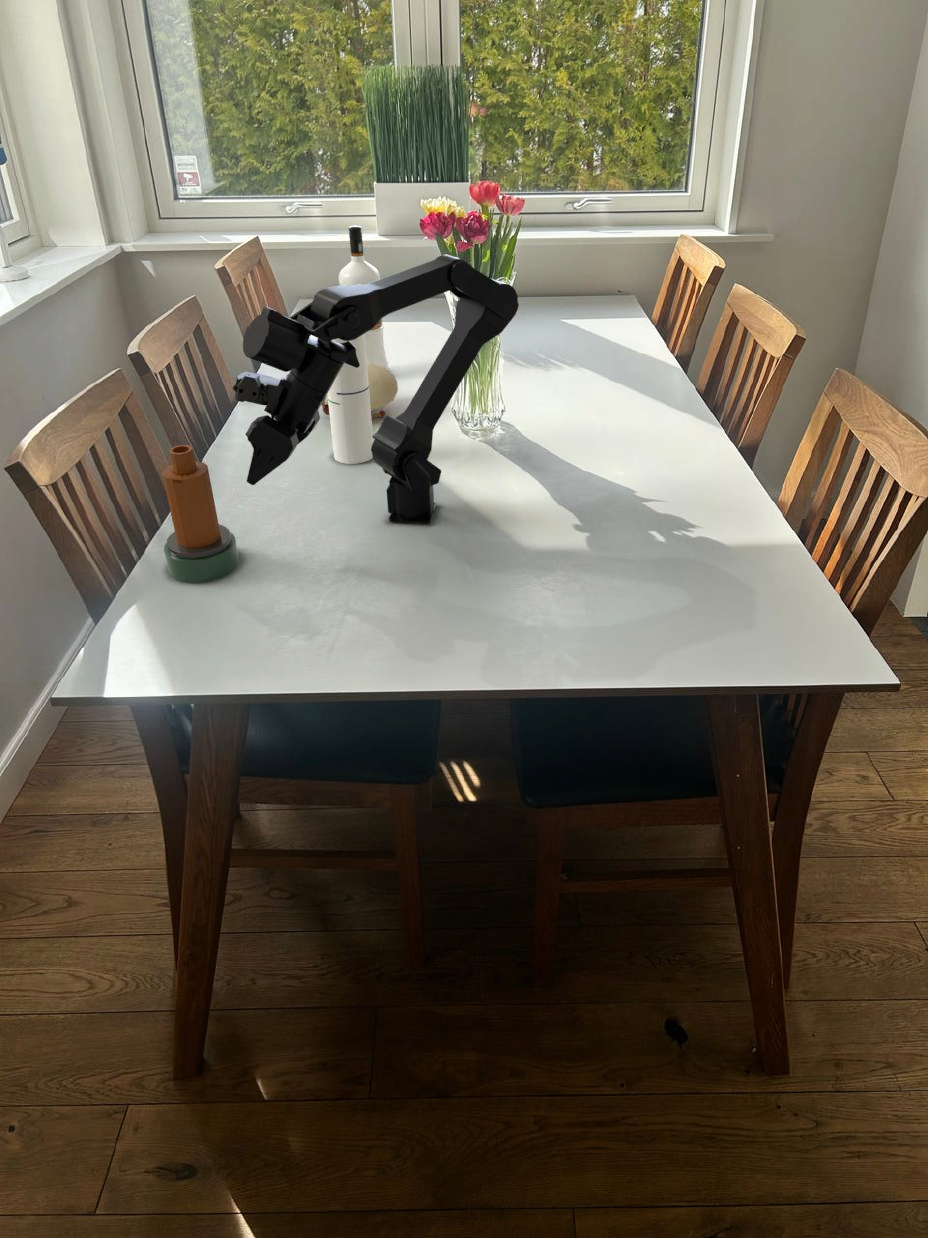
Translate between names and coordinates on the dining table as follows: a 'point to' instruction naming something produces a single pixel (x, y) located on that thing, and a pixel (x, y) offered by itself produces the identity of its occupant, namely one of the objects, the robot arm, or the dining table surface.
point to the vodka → (359, 275)
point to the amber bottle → (190, 499)
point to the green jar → (202, 559)
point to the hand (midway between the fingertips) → (258, 473)
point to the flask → (377, 389)
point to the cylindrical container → (351, 410)
